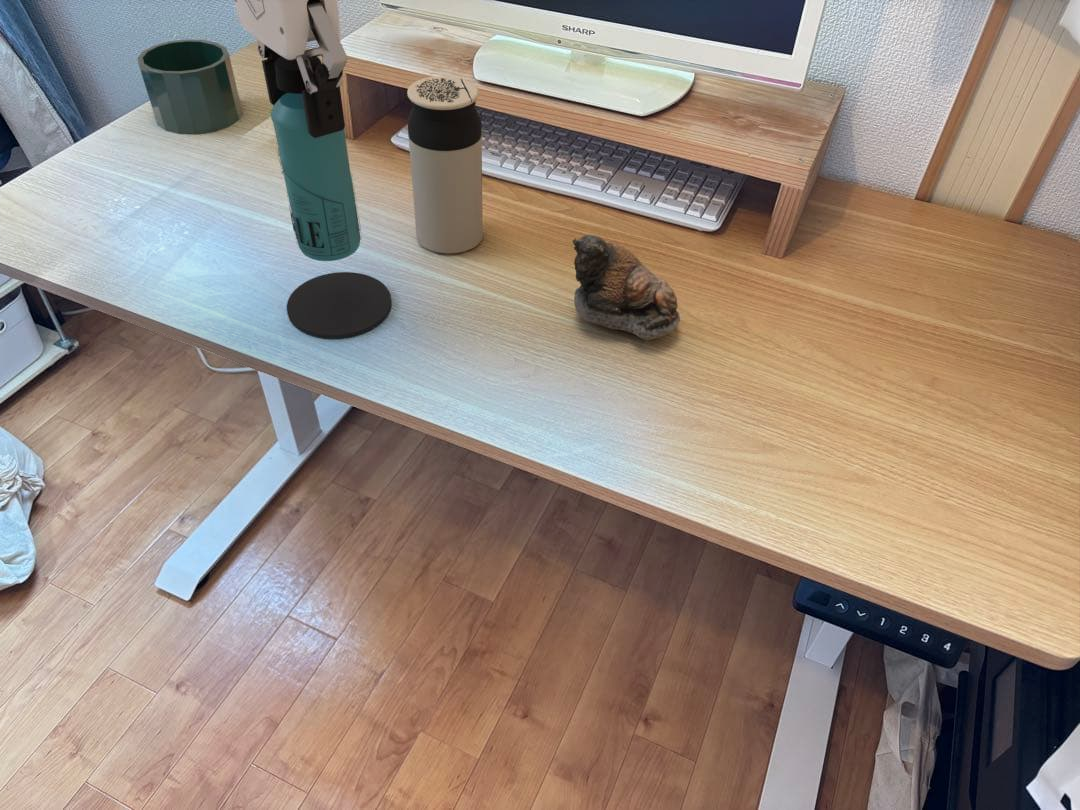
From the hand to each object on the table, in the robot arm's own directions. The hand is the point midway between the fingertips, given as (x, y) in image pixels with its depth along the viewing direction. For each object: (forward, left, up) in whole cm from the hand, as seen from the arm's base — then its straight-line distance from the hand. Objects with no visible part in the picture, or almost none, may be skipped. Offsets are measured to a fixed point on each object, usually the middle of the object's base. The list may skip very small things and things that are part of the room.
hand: (307, 115), depth 70 cm
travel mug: (+17, -5, -22) cm, 28 cm away
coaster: (0, 0, -21) cm, 21 cm away
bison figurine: (+9, -29, -22) cm, 37 cm away
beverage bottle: (0, 0, -15) cm, 15 cm away
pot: (+28, +39, -21) cm, 52 cm away
